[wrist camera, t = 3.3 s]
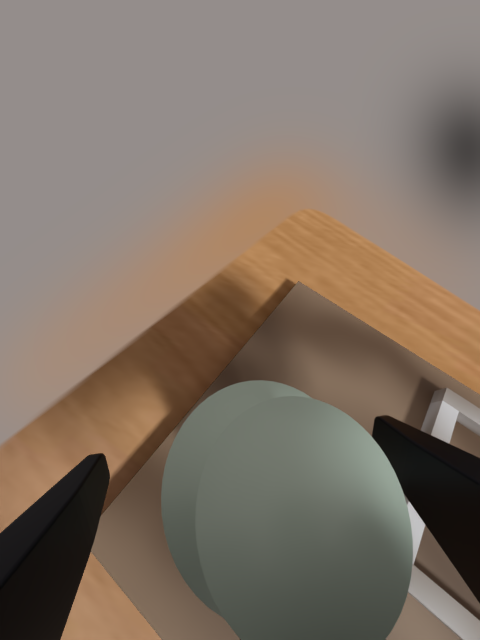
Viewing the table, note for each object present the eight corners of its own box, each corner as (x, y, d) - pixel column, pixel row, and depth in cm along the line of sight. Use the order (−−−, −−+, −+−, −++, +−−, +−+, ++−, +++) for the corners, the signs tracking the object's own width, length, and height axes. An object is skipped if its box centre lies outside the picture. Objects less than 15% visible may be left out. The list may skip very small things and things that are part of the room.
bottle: (246, 539, 12) (438, 1178, 1) (178, 472, 13) (7, 558, 3) (295, 455, 14) (532, 467, 3) (232, 402, 15) (260, 286, 4)
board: (653, 1215, 7) (808, 1487, 5) (90, 533, 12) (69, 546, 11) (627, 500, 15) (681, 506, 13) (295, 288, 21) (302, 273, 19)
